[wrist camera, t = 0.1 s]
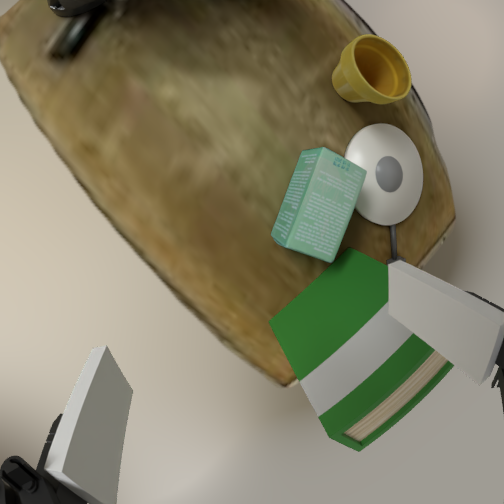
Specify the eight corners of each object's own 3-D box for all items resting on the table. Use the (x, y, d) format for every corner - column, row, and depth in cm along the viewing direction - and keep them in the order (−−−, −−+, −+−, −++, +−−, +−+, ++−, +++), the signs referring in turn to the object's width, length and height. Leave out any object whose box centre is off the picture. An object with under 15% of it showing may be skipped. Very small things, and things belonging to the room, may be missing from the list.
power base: (332, 127, 37) (339, 125, 35) (410, 123, 39) (417, 122, 37) (355, 287, 45) (361, 291, 43) (423, 260, 47) (430, 263, 45)
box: (268, 237, 40) (284, 249, 33) (300, 149, 37) (323, 144, 30) (311, 252, 42) (334, 266, 35) (341, 169, 39) (369, 169, 32)
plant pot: (345, 46, 34) (377, 24, 24) (384, 92, 37) (422, 80, 28) (307, 75, 34) (336, 51, 25) (351, 125, 37) (389, 114, 28)
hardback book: (349, 247, 43) (464, 307, 20) (369, 276, 45) (471, 343, 22) (268, 321, 43) (329, 437, 20) (294, 346, 45) (359, 451, 23)
